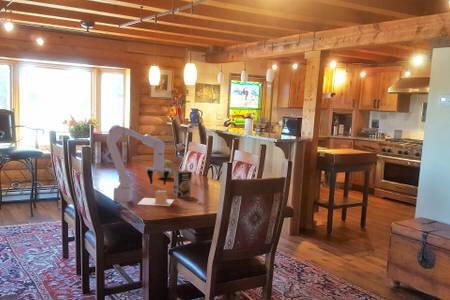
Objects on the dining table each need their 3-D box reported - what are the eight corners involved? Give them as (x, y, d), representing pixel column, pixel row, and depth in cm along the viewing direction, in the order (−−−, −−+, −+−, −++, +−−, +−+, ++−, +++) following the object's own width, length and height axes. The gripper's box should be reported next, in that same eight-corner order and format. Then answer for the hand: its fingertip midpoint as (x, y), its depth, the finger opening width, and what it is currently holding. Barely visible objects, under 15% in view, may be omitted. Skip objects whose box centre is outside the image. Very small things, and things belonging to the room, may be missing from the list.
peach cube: (155, 203, 239) (155, 192, 238) (157, 201, 244) (157, 190, 244) (165, 204, 239) (165, 192, 238) (166, 202, 244) (167, 190, 243)
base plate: (137, 206, 235) (137, 204, 235) (143, 199, 252) (143, 197, 252) (169, 208, 235) (169, 206, 235) (174, 201, 252) (174, 199, 252)
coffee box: (178, 199, 259) (179, 172, 257) (172, 197, 264) (173, 171, 262) (190, 197, 264) (192, 172, 263) (185, 195, 269) (186, 170, 268)
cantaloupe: (178, 178, 333) (179, 159, 331) (168, 180, 319) (169, 160, 318) (162, 176, 339) (163, 157, 337) (151, 178, 326) (152, 158, 324)
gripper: (172, 160, 250) (171, 183, 252) (147, 159, 251) (147, 182, 252) (170, 162, 243) (169, 185, 245) (145, 160, 244) (144, 184, 245)
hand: (157, 184), depth 248 cm, fingers open, 7 cm apart
